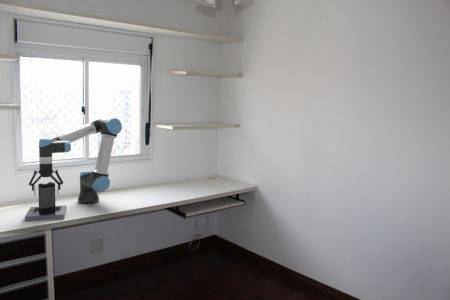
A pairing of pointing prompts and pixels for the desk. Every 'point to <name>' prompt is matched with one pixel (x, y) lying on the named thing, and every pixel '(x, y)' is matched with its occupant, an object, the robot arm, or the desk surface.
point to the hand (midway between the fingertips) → (46, 195)
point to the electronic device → (47, 198)
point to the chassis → (35, 216)
